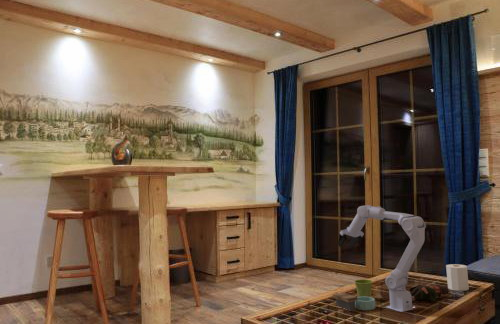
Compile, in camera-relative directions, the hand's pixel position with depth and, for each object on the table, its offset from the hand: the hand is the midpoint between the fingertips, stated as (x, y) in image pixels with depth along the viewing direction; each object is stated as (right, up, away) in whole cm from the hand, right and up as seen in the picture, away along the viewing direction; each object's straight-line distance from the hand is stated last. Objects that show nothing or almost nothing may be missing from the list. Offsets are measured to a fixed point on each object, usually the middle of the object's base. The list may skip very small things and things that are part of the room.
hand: (344, 245), depth 213 cm
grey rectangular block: (-4, -26, -20) cm, 33 cm away
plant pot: (+9, -26, -4) cm, 28 cm away
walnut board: (-4, -21, -20) cm, 29 cm away
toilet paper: (+62, -25, +6) cm, 67 cm away
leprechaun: (+37, -25, -10) cm, 46 cm away
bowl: (+5, -25, -20) cm, 32 cm away
